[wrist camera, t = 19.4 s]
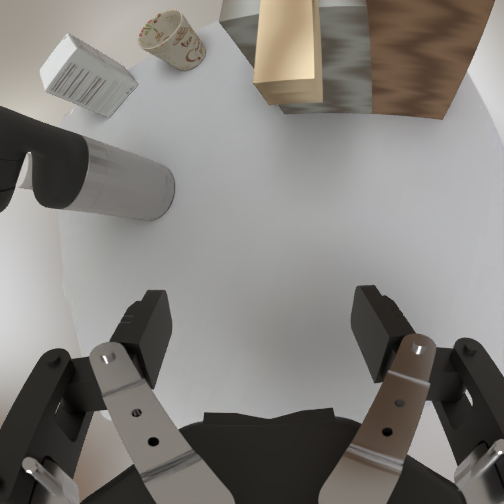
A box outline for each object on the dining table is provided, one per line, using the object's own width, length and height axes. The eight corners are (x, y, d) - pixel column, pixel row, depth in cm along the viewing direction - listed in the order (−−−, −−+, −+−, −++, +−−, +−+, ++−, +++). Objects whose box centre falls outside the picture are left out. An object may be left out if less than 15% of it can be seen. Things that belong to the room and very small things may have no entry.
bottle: (82, 159, 53) (24, 143, 39) (96, 176, 52) (33, 162, 38) (68, 187, 55) (10, 177, 41) (80, 206, 53) (18, 197, 39)
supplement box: (96, 97, 53) (37, 71, 37) (123, 65, 51) (67, 31, 35) (109, 119, 51) (43, 92, 35) (139, 84, 48) (76, 47, 33)
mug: (191, 82, 44) (157, 53, 35) (151, 64, 48) (118, 40, 38) (221, 45, 42) (192, 12, 33) (177, 32, 46) (147, 5, 37)
